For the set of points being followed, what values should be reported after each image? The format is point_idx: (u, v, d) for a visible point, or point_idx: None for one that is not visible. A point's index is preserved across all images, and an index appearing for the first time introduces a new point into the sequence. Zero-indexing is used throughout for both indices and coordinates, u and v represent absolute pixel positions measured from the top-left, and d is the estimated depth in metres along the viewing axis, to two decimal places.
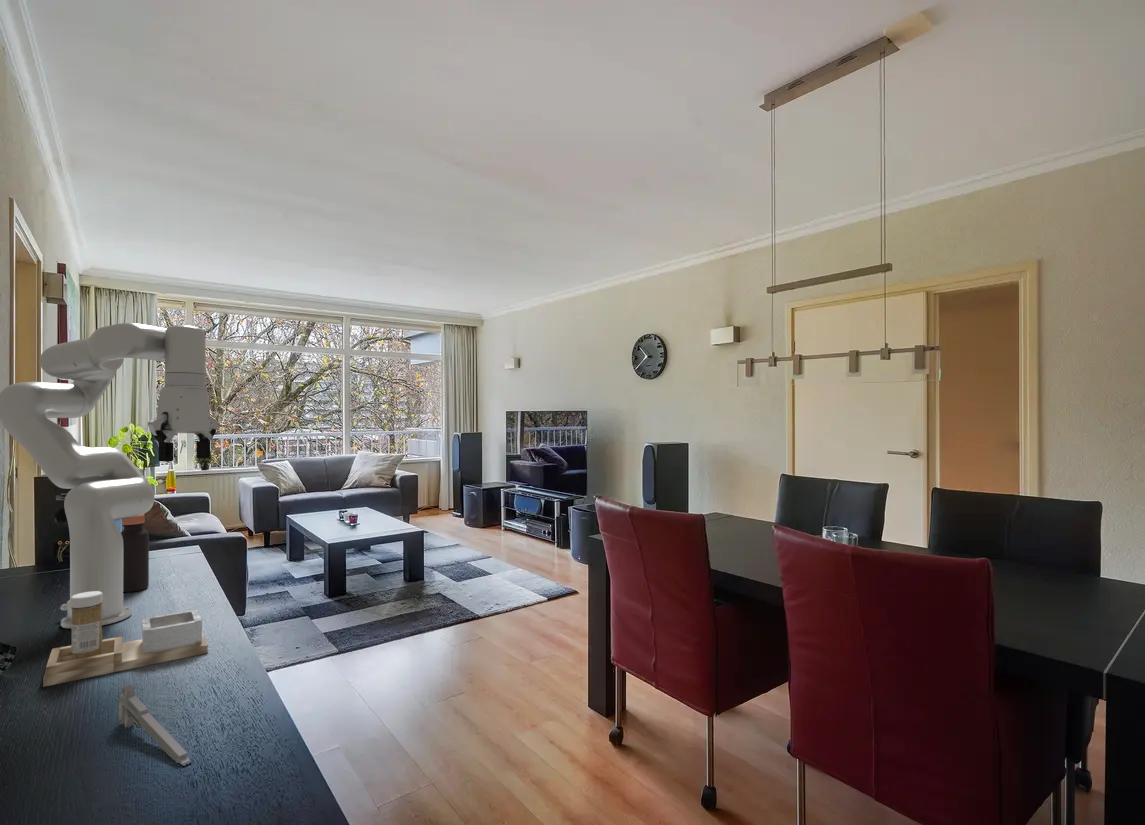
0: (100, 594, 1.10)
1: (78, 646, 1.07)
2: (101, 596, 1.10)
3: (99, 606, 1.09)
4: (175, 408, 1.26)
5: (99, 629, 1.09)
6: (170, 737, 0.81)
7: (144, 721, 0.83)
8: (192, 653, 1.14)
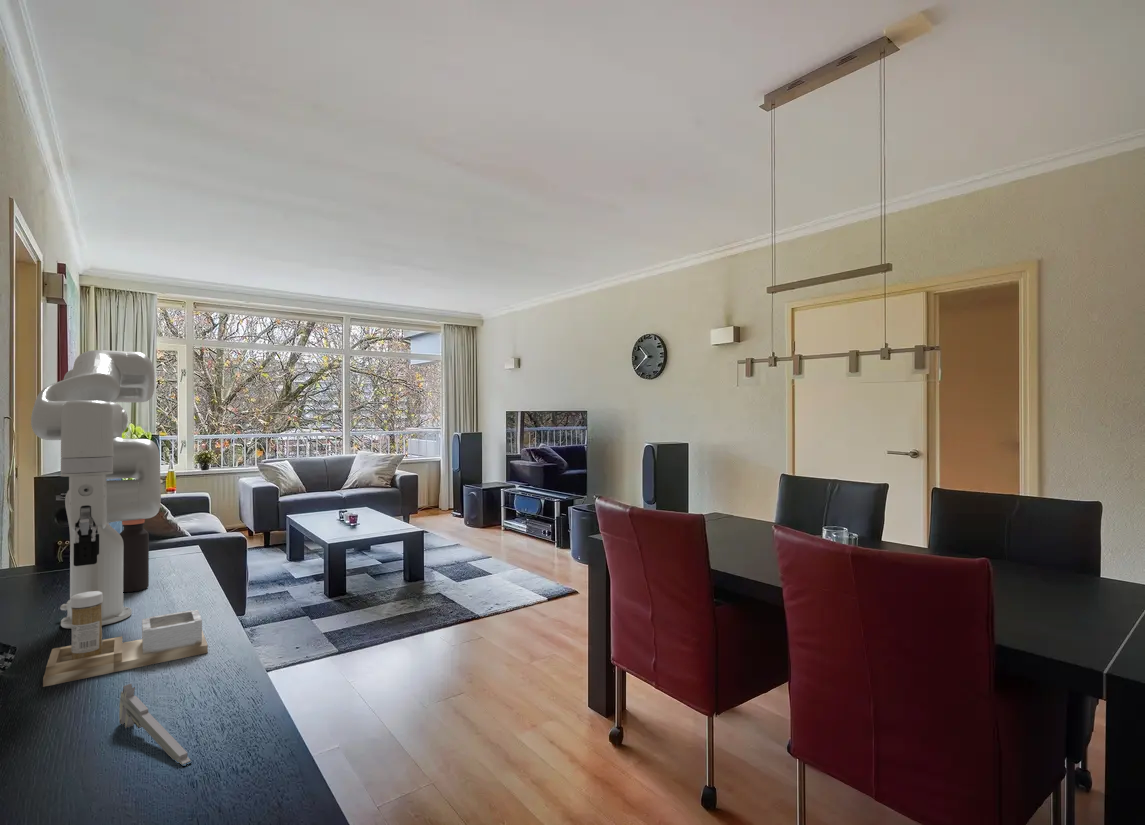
0: (100, 594, 1.10)
1: (78, 646, 1.07)
2: (101, 596, 1.10)
3: (99, 606, 1.09)
4: None
5: (99, 629, 1.09)
6: (170, 737, 0.81)
7: (144, 721, 0.83)
8: (192, 653, 1.14)
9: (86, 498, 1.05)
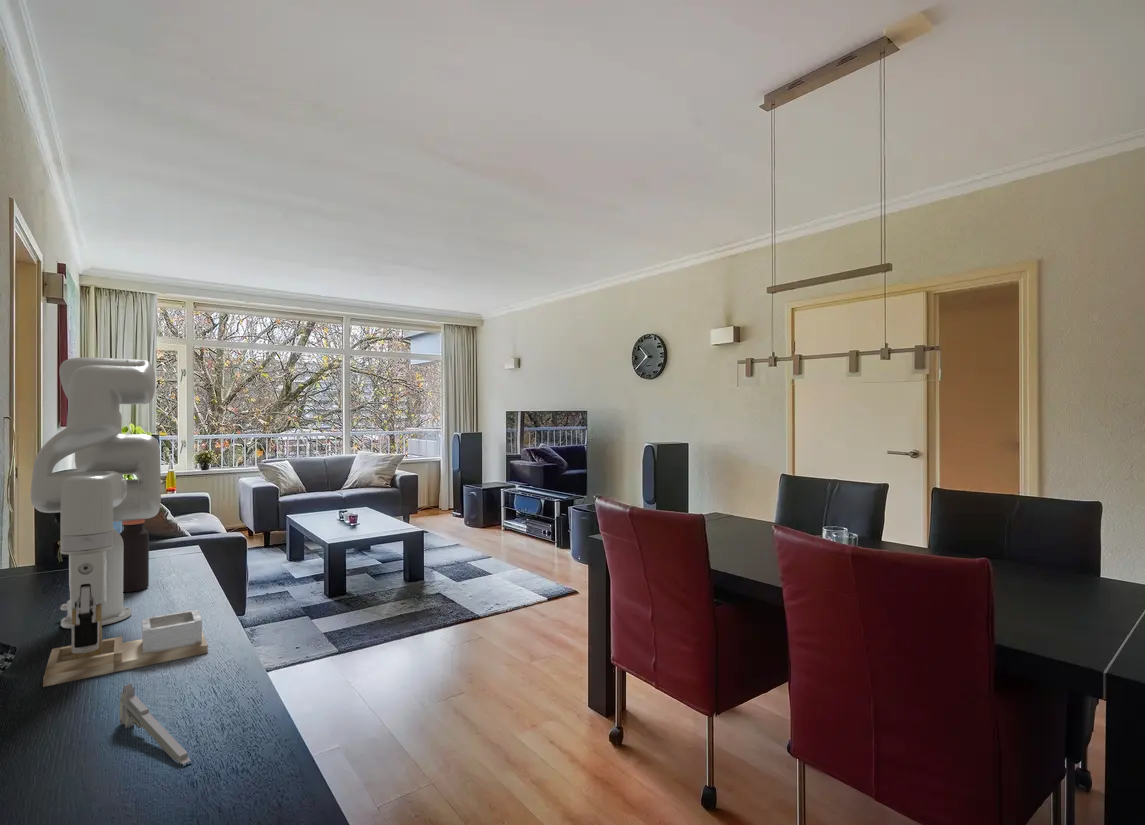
0: None
1: None
2: None
3: (99, 606, 1.09)
4: None
5: (99, 629, 1.09)
6: (170, 737, 0.81)
7: (144, 721, 0.83)
8: (192, 653, 1.14)
9: (86, 576, 1.05)
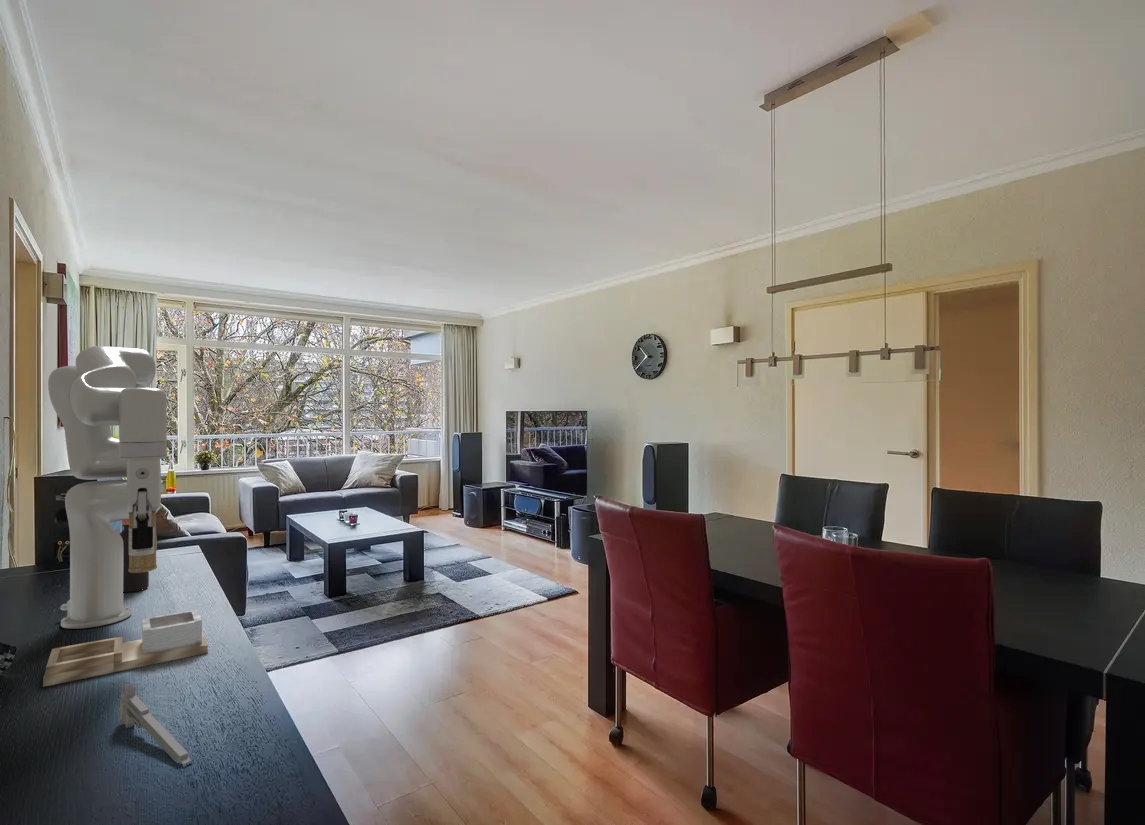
0: None
1: None
2: None
3: (154, 513, 1.15)
4: None
5: (154, 534, 1.14)
6: (171, 737, 0.81)
7: (145, 721, 0.83)
8: (192, 653, 1.14)
9: (143, 481, 1.10)
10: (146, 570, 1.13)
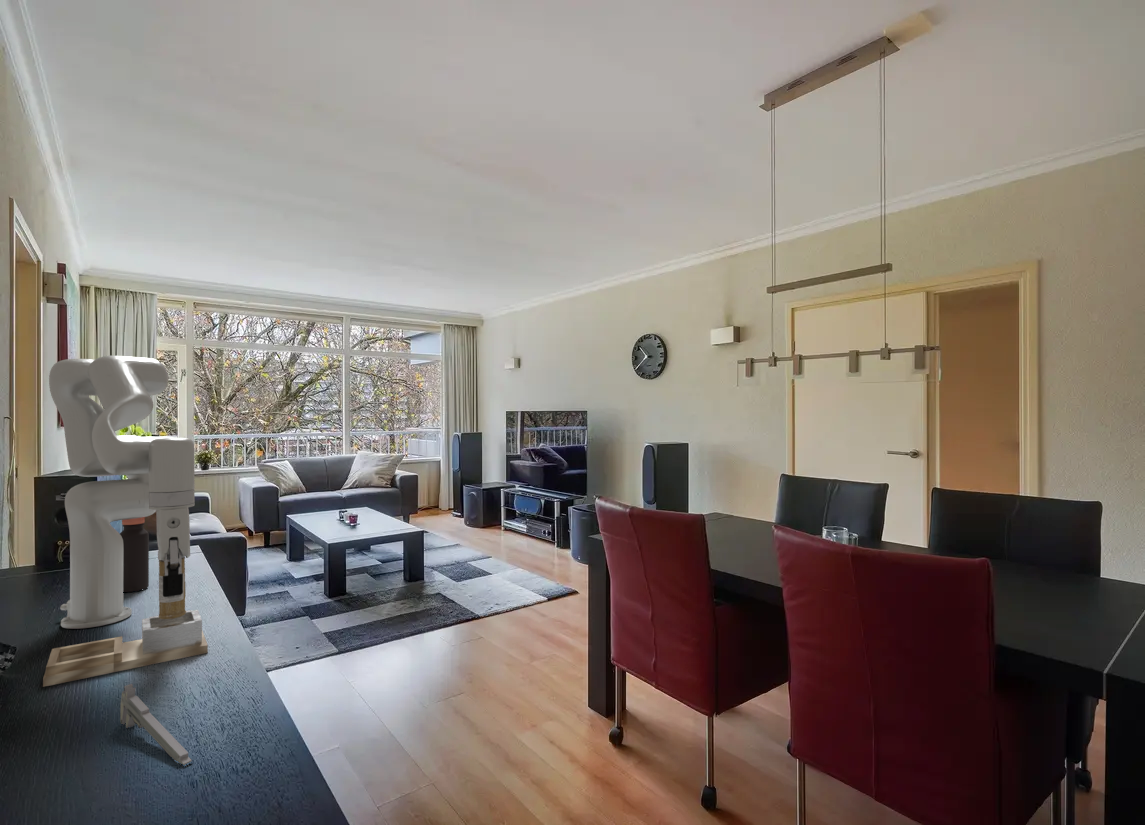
0: None
1: None
2: None
3: (183, 559, 1.17)
4: None
5: (183, 581, 1.17)
6: (171, 737, 0.81)
7: (145, 721, 0.83)
8: (192, 653, 1.14)
9: (174, 530, 1.13)
10: (176, 616, 1.16)
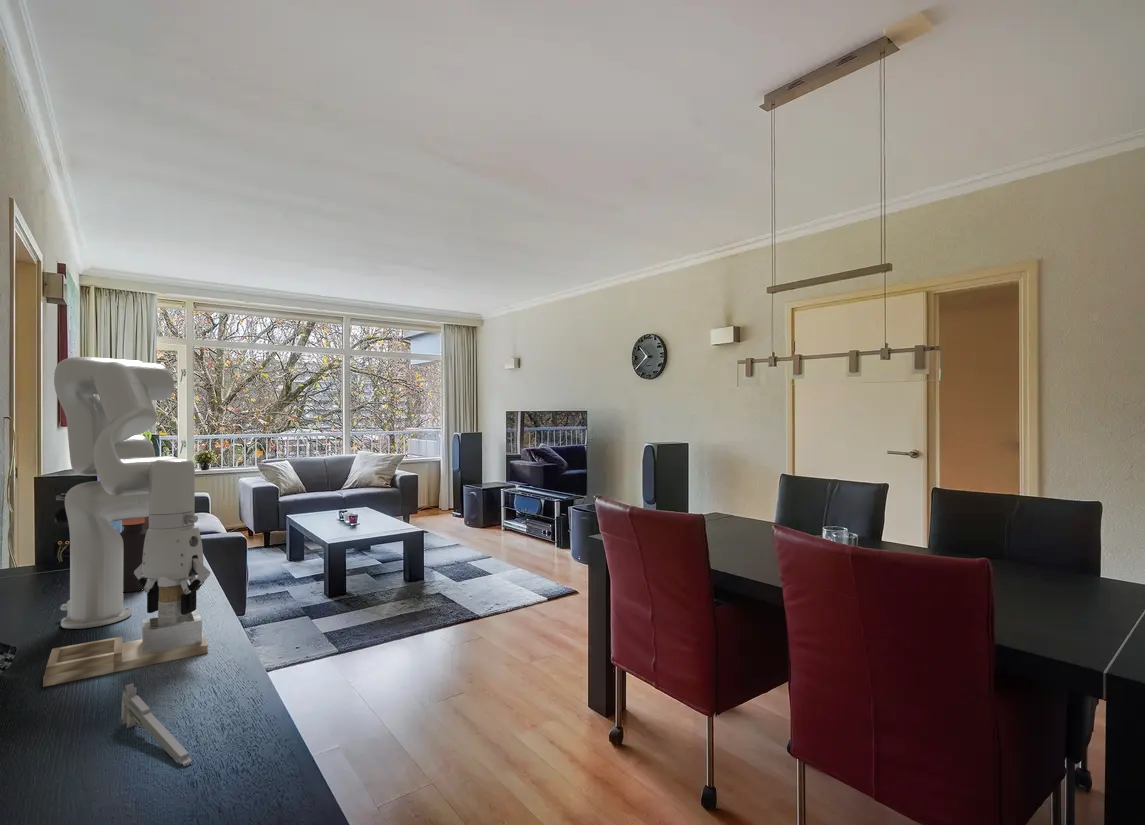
0: None
1: (175, 621, 1.16)
2: None
3: None
4: (143, 552, 1.16)
5: None
6: (172, 737, 0.81)
7: (146, 721, 0.83)
8: (192, 653, 1.14)
9: (194, 548, 1.16)
10: None
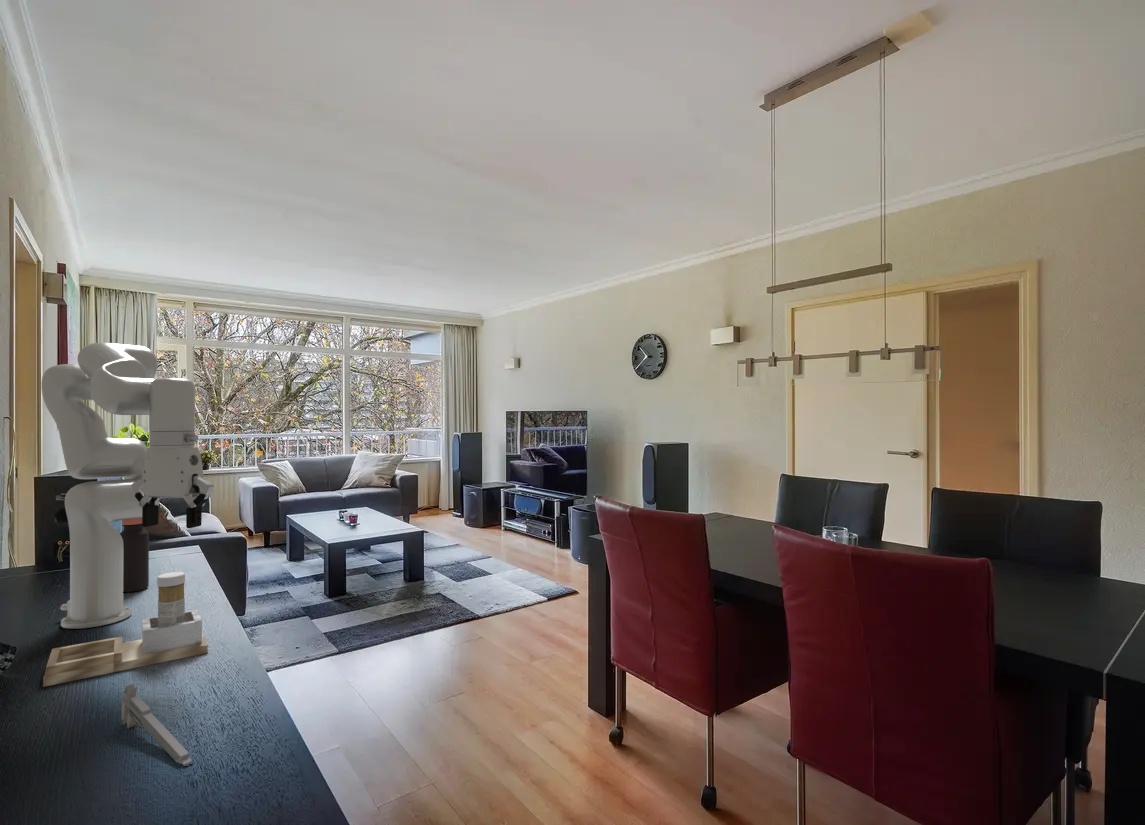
0: None
1: (175, 621, 1.16)
2: None
3: None
4: (143, 470, 1.16)
5: None
6: (172, 737, 0.81)
7: (146, 721, 0.83)
8: (192, 653, 1.14)
9: (195, 467, 1.17)
10: None
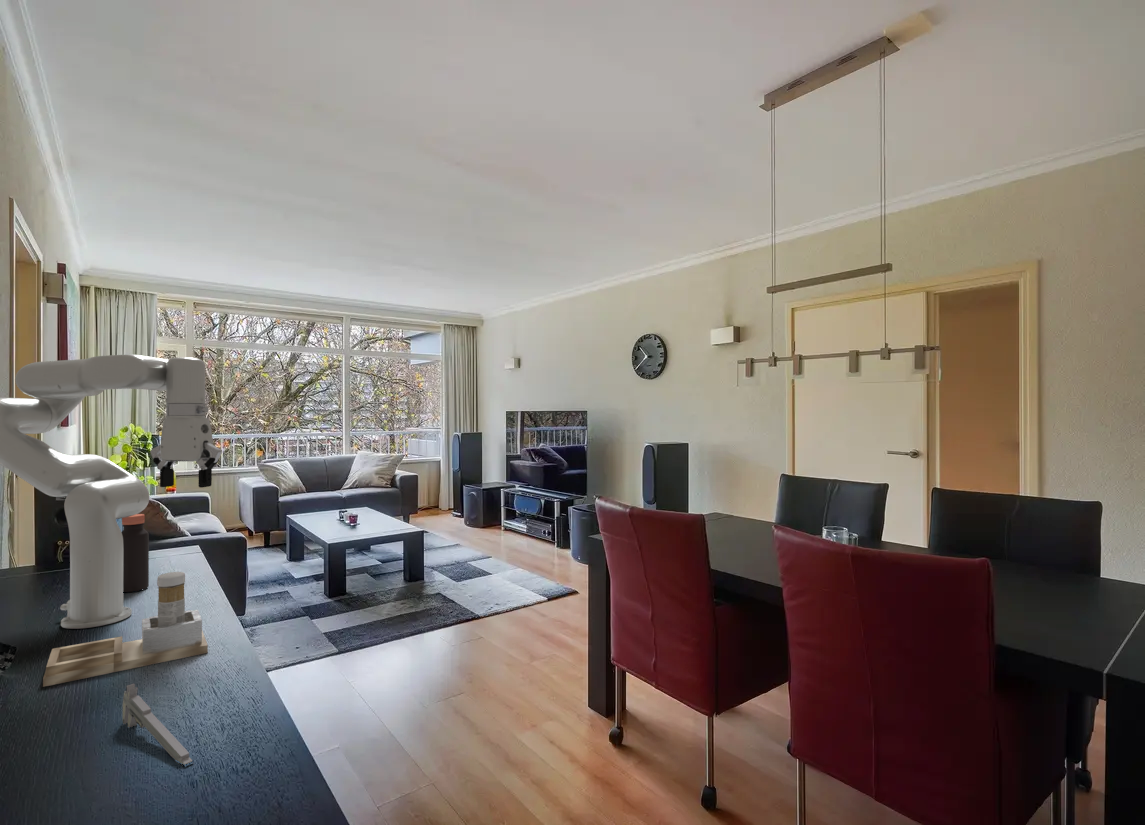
0: None
1: (175, 621, 1.16)
2: None
3: None
4: (161, 437, 1.34)
5: None
6: (172, 737, 0.81)
7: (147, 721, 0.83)
8: (192, 653, 1.14)
9: (205, 435, 1.35)
10: None
